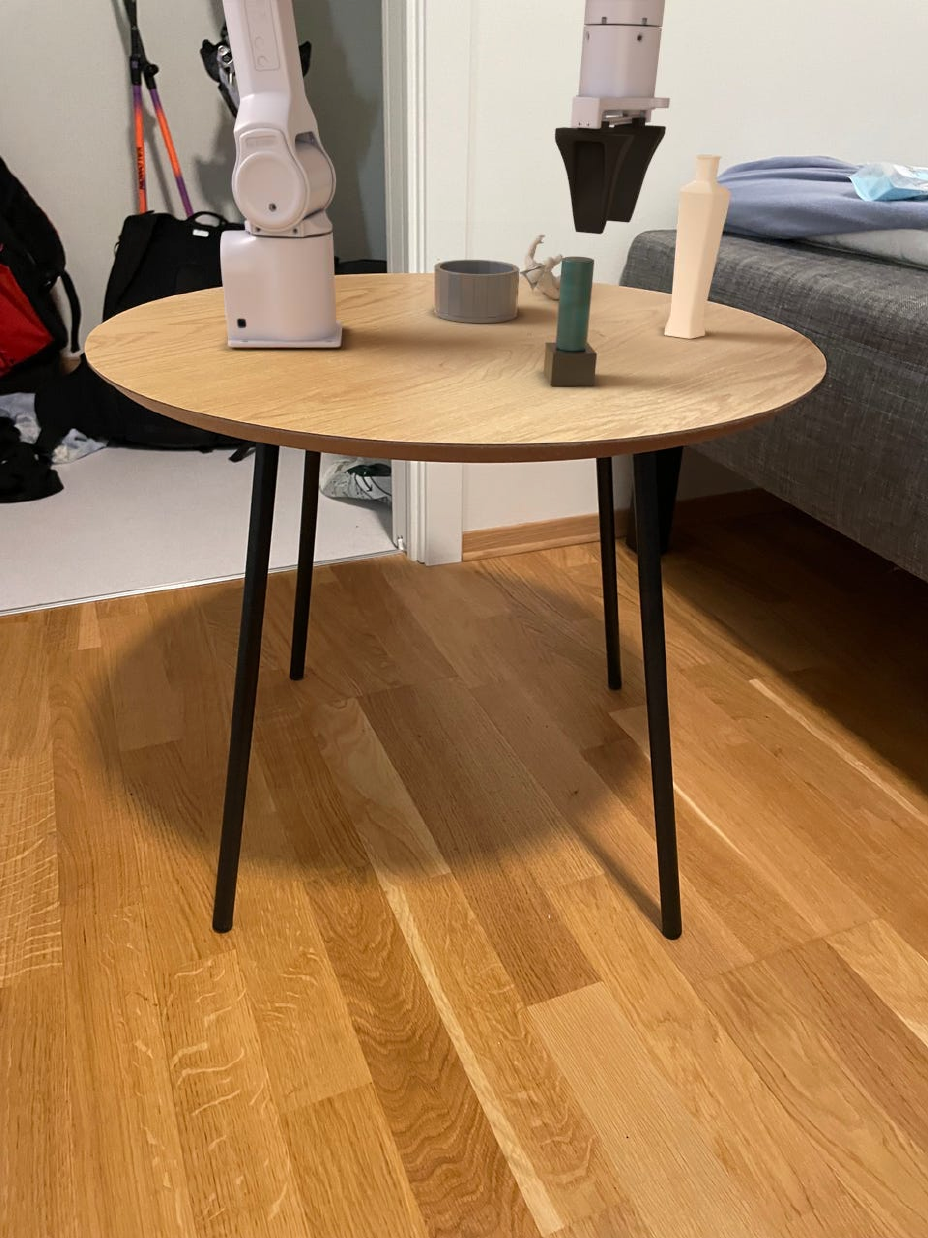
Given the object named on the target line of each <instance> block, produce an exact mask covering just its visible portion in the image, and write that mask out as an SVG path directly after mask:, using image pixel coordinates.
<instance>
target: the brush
mask: <svg viewBox="0 0 928 1238" xmlns="http://www.w3.org/2000/svg"><path fill="white" fill-rule="evenodd" d="M560 264H561V265H560V266H561V267H560V275H561V278H560V289H559V291H560V292H559V299H558V305H557V306H558V307H557V320H556V331H555V332H556V333H555V334H556V335H555V342H551V341H550V342H545V347H544V348H545V349H544V361H543V364H544V366H543V375H544V377H545V378H546V380H547V383H549V385H550V386H551V387H594V386H595V378H596V367H597V356H598V354H597V352H596V351H595V349H594V348H593V347H592V346H591V345H590V343H589V342H588V337H589V336H588V335H589V327H590V316H591V315H590V314H591V305H592V302H591V301H592V292H593V291H592V290H593V281H594V269H595V259H593V258H591V257H587V256H586V257H585V256H564V257H563V258H562V260H561V263H560Z"/></svg>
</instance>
